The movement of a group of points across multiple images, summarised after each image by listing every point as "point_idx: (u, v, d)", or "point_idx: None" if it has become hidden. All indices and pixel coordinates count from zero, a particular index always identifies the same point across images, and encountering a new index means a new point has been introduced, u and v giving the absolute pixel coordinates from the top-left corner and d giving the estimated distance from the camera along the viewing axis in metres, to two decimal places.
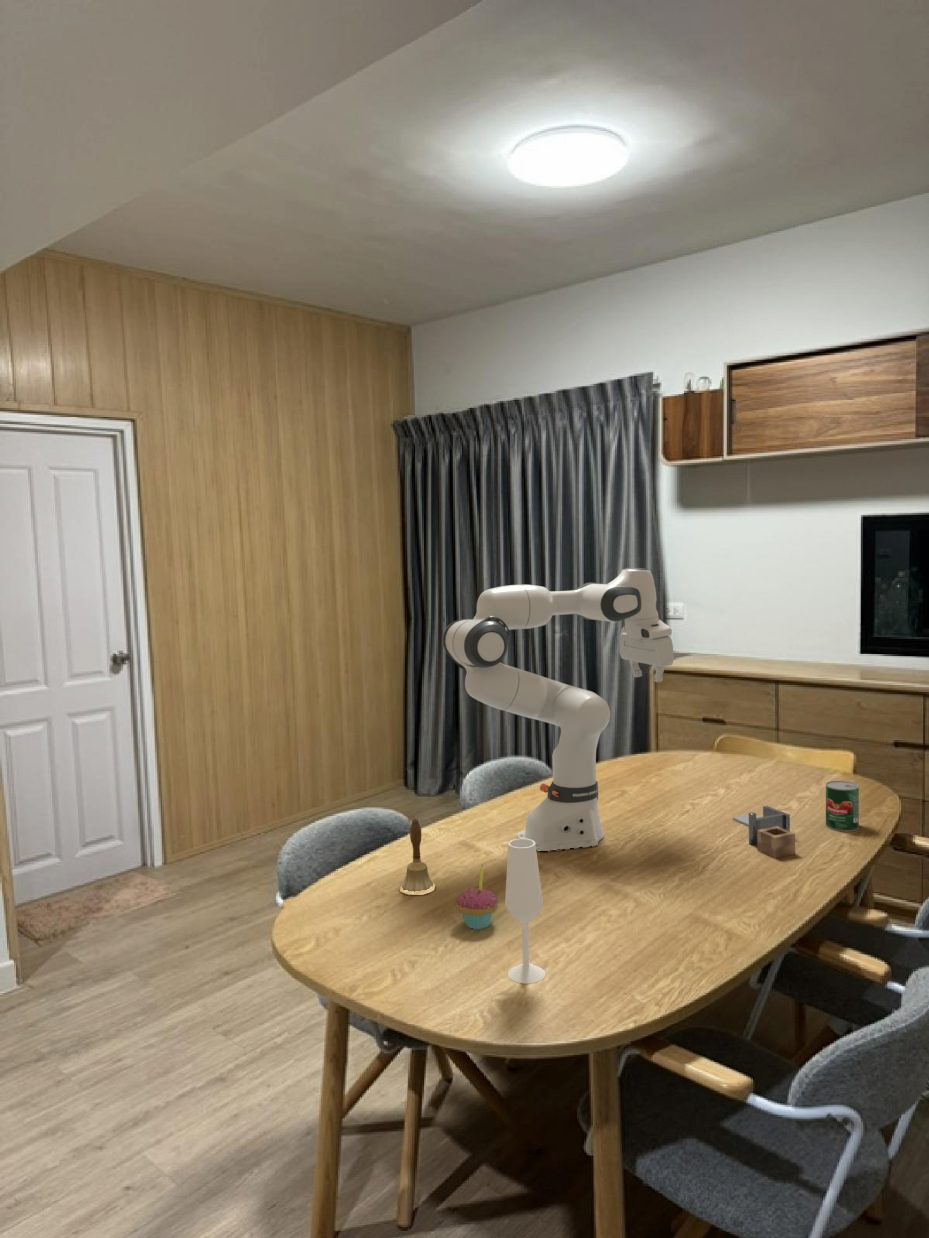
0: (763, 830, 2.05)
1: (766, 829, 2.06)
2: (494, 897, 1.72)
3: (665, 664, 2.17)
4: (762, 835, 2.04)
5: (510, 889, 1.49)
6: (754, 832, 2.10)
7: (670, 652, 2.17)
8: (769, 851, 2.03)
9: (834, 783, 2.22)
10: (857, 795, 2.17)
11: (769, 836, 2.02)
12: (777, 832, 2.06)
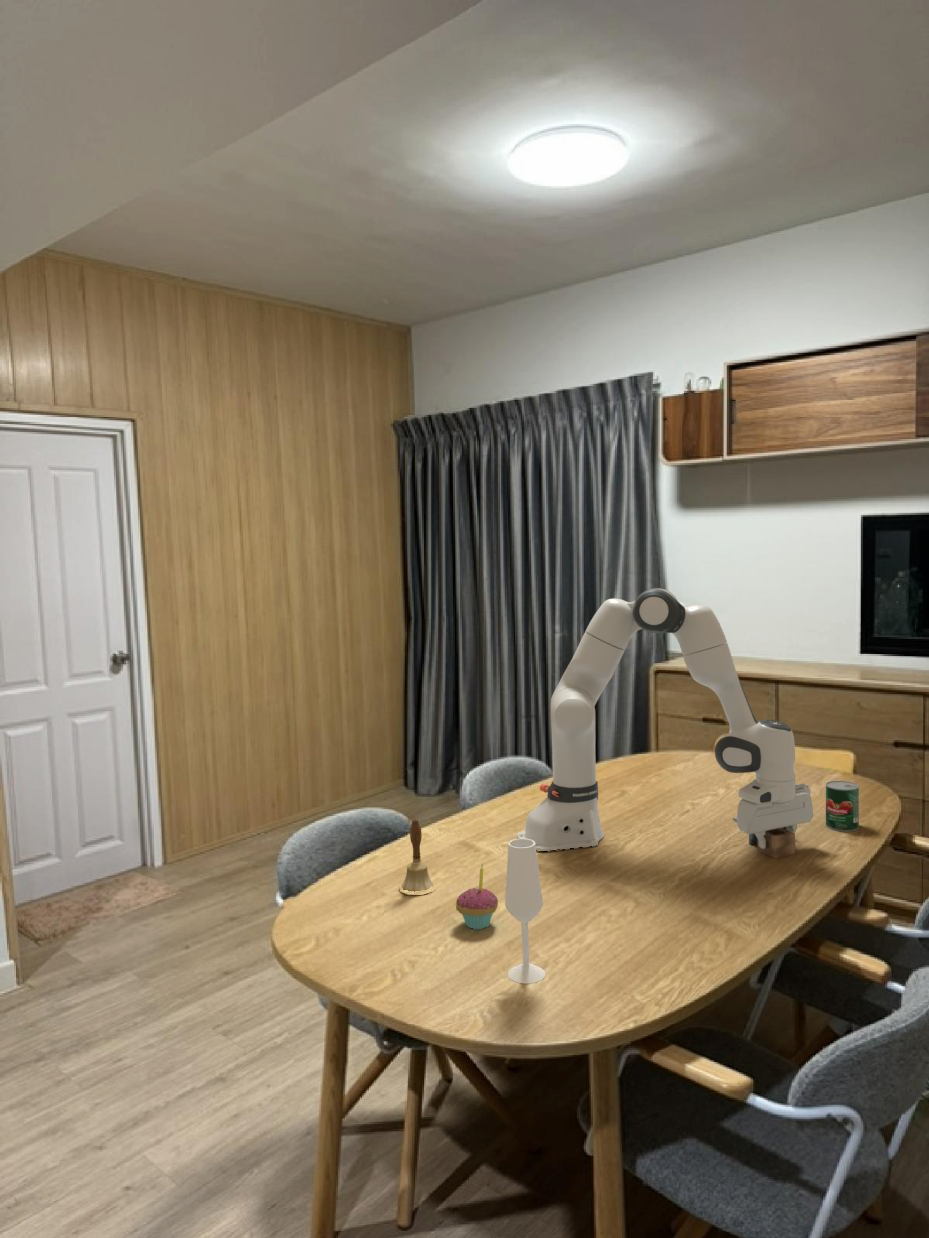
0: None
1: None
2: (494, 897, 1.72)
3: (740, 829, 2.01)
4: None
5: (510, 889, 1.49)
6: None
7: (745, 820, 1.99)
8: (769, 851, 2.03)
9: (834, 783, 2.22)
10: (857, 795, 2.17)
11: (769, 836, 2.02)
12: (778, 833, 2.06)
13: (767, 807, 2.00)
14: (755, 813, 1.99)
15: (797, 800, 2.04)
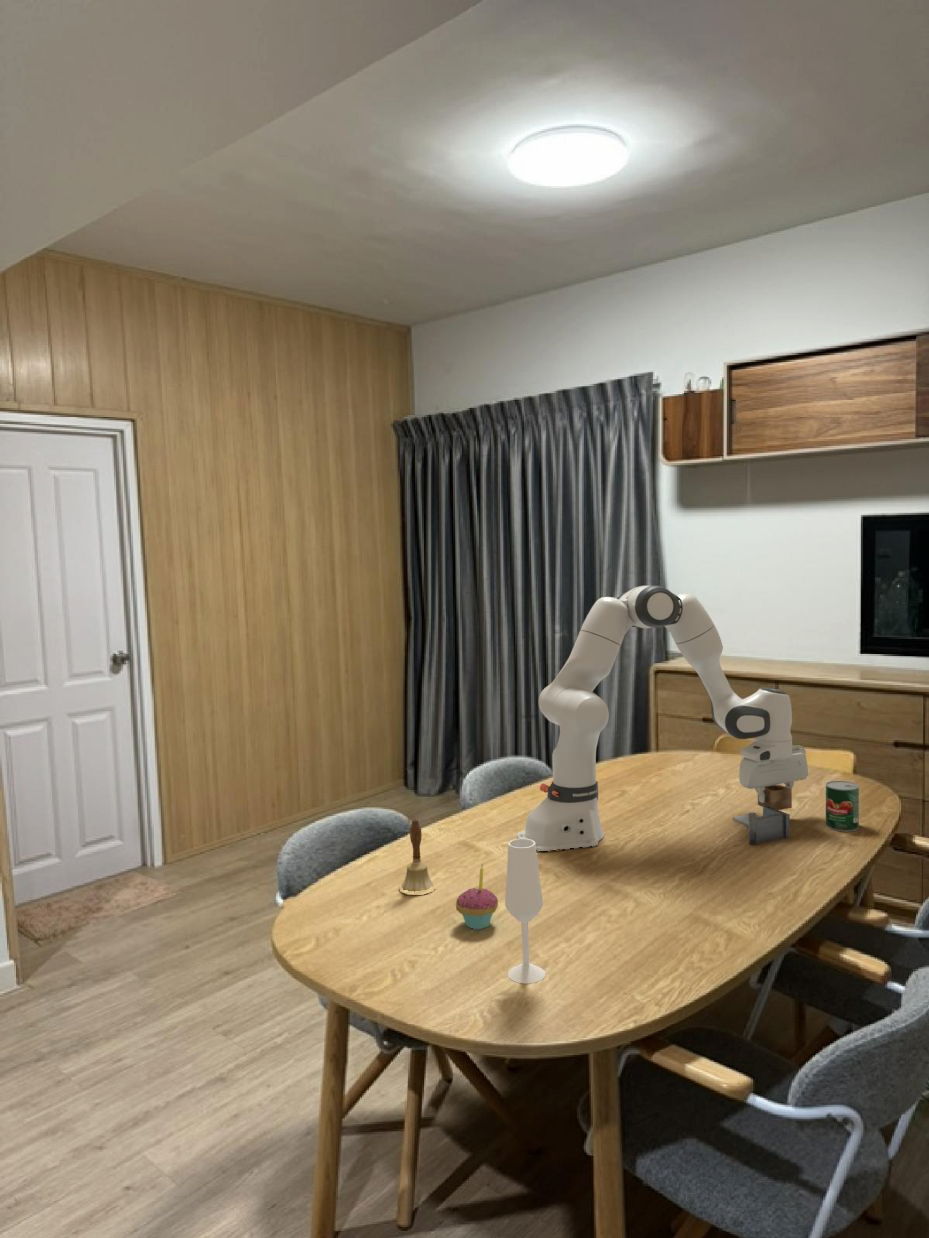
0: None
1: (766, 786, 2.28)
2: (494, 897, 1.72)
3: (742, 784, 2.23)
4: None
5: (510, 889, 1.49)
6: (754, 832, 2.10)
7: (746, 776, 2.21)
8: (768, 804, 2.25)
9: (834, 783, 2.22)
10: (857, 795, 2.17)
11: (768, 791, 2.24)
12: (776, 789, 2.28)
13: (766, 765, 2.23)
14: (756, 770, 2.21)
15: (793, 759, 2.26)
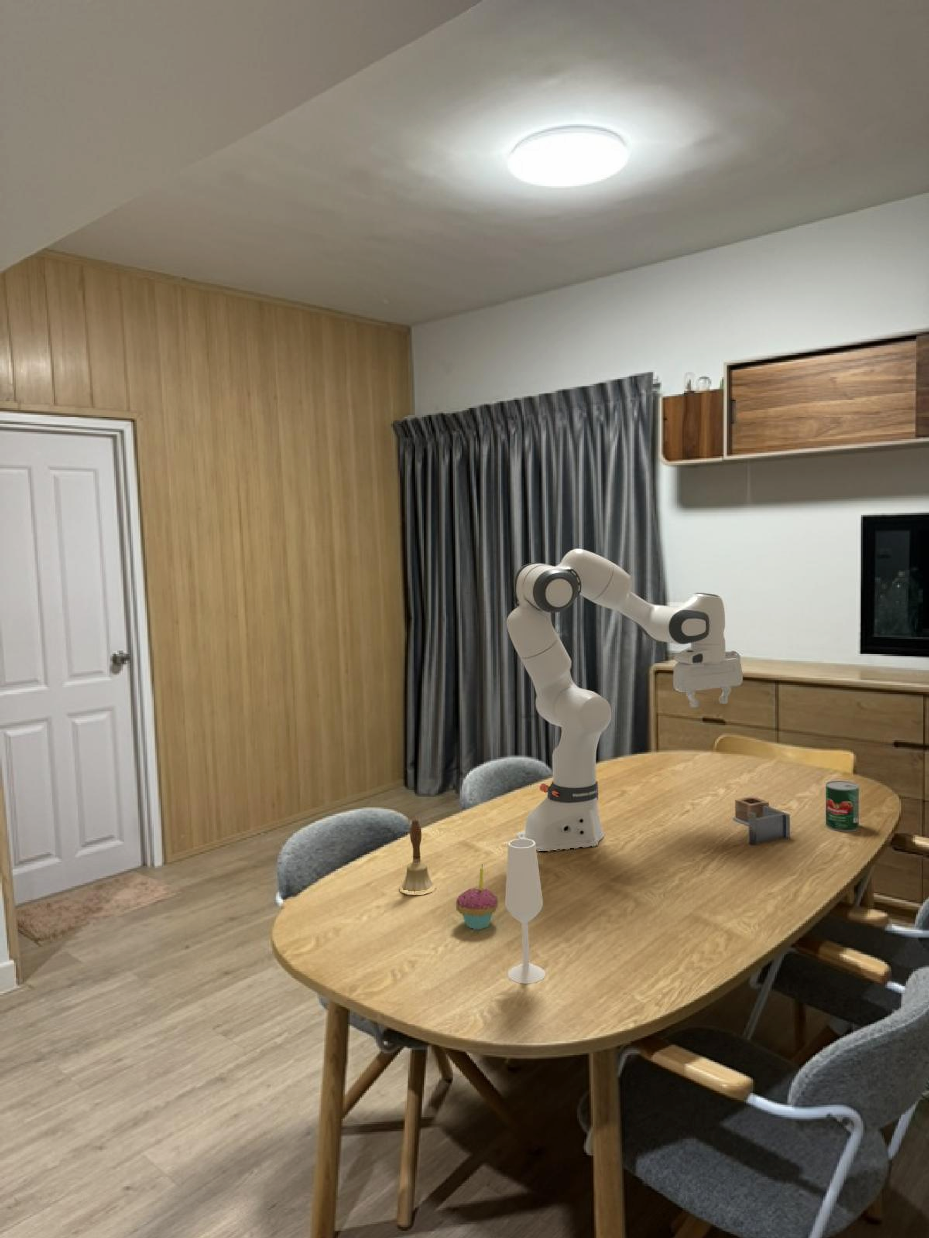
0: (740, 799, 2.28)
1: (743, 799, 2.28)
2: (494, 897, 1.72)
3: (675, 688, 2.24)
4: (739, 804, 2.26)
5: (510, 889, 1.49)
6: (754, 832, 2.10)
7: (679, 679, 2.22)
8: (745, 818, 2.25)
9: (834, 783, 2.22)
10: (857, 795, 2.17)
11: (745, 804, 2.24)
12: (753, 802, 2.28)
13: (699, 669, 2.23)
14: (688, 673, 2.22)
15: (727, 664, 2.27)
